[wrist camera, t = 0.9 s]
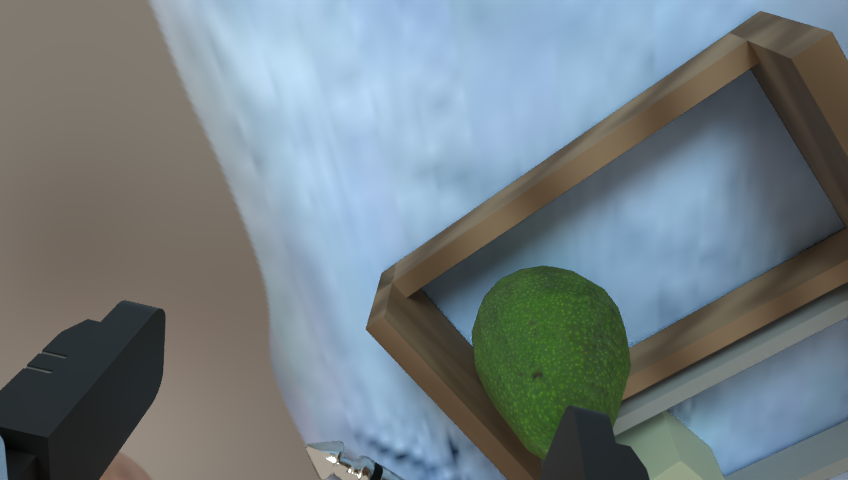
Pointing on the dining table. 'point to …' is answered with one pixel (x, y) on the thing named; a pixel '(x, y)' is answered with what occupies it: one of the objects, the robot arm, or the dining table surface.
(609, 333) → the avocado
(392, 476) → the audio adapter
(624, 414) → the grey open rectangular frame
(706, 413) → the dining table surface
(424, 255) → the frame
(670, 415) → the sage block
